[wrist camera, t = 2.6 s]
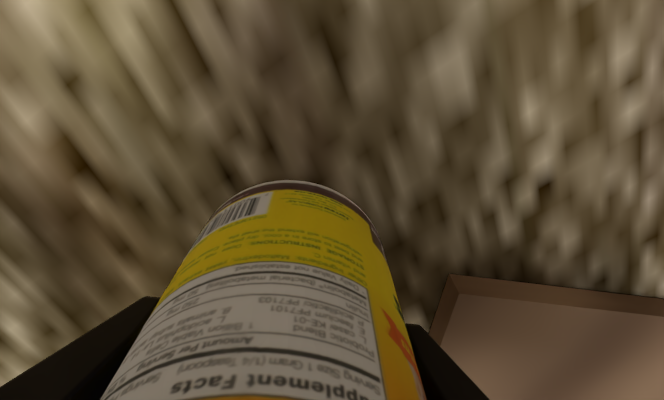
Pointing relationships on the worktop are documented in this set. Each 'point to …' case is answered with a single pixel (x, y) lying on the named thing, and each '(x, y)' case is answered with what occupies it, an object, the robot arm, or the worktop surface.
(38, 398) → the robot arm
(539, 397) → the walnut board
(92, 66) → the worktop surface
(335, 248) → the supplement bottle
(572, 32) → the worktop surface
